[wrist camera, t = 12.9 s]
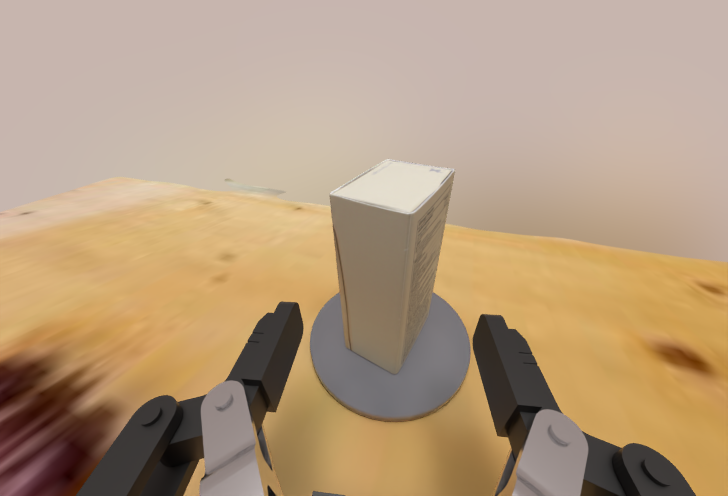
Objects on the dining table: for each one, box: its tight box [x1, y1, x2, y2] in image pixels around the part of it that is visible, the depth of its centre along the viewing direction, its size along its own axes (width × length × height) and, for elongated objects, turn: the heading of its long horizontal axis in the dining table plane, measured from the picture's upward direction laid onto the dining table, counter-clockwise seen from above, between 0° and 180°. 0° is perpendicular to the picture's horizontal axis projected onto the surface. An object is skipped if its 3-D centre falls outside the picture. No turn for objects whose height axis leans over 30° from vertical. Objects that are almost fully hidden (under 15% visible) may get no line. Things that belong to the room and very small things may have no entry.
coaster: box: [310, 292, 470, 422], centre depth 20 cm, size 12×12×1 cm
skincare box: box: [330, 159, 455, 374], centre depth 16 cm, size 6×4×12 cm
